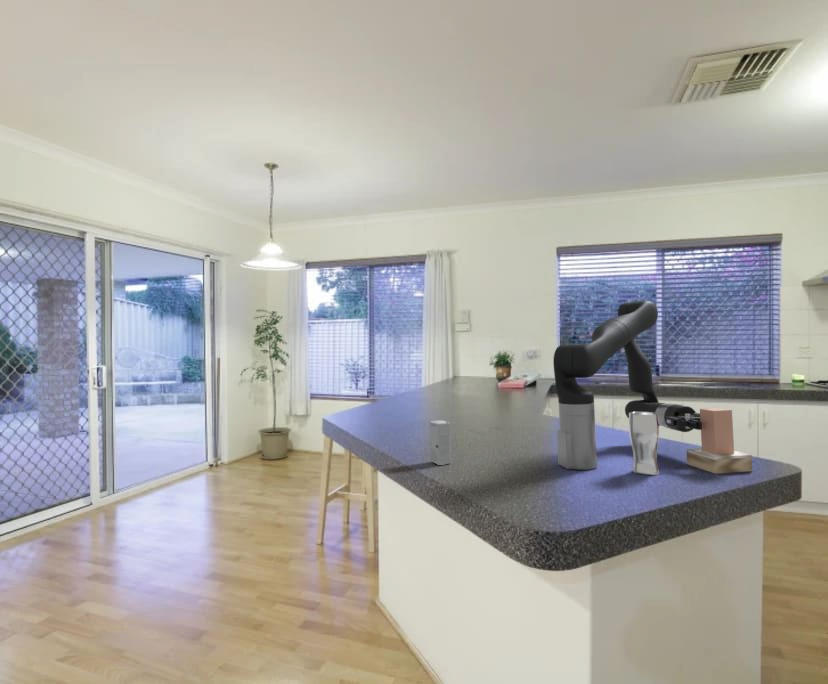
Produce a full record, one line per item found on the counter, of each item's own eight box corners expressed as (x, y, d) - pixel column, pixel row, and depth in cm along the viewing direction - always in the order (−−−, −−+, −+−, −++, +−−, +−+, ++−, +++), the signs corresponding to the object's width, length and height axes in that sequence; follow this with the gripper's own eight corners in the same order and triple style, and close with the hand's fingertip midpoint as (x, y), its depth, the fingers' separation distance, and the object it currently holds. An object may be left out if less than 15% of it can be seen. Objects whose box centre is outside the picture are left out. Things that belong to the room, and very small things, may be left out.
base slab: (715, 473, 116) (714, 457, 116) (687, 464, 125) (686, 449, 126) (752, 471, 117) (751, 454, 117) (721, 462, 126) (721, 447, 127)
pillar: (715, 454, 118) (713, 410, 119) (701, 450, 123) (699, 408, 124) (734, 453, 119) (731, 410, 119) (719, 449, 124) (717, 407, 124)
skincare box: (429, 462, 139) (427, 421, 139) (442, 460, 140) (441, 419, 141) (438, 466, 133) (436, 423, 133) (452, 464, 135) (450, 422, 135)
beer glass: (660, 470, 121) (657, 411, 121) (661, 476, 114) (658, 415, 115) (630, 468, 124) (628, 411, 124) (630, 474, 117) (627, 414, 118)
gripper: (651, 405, 137) (689, 411, 121) (697, 403, 138) (740, 409, 122) (653, 431, 137) (691, 441, 121) (698, 428, 138) (742, 438, 122)
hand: (716, 425), depth 121 cm, fingers open, 8 cm apart
